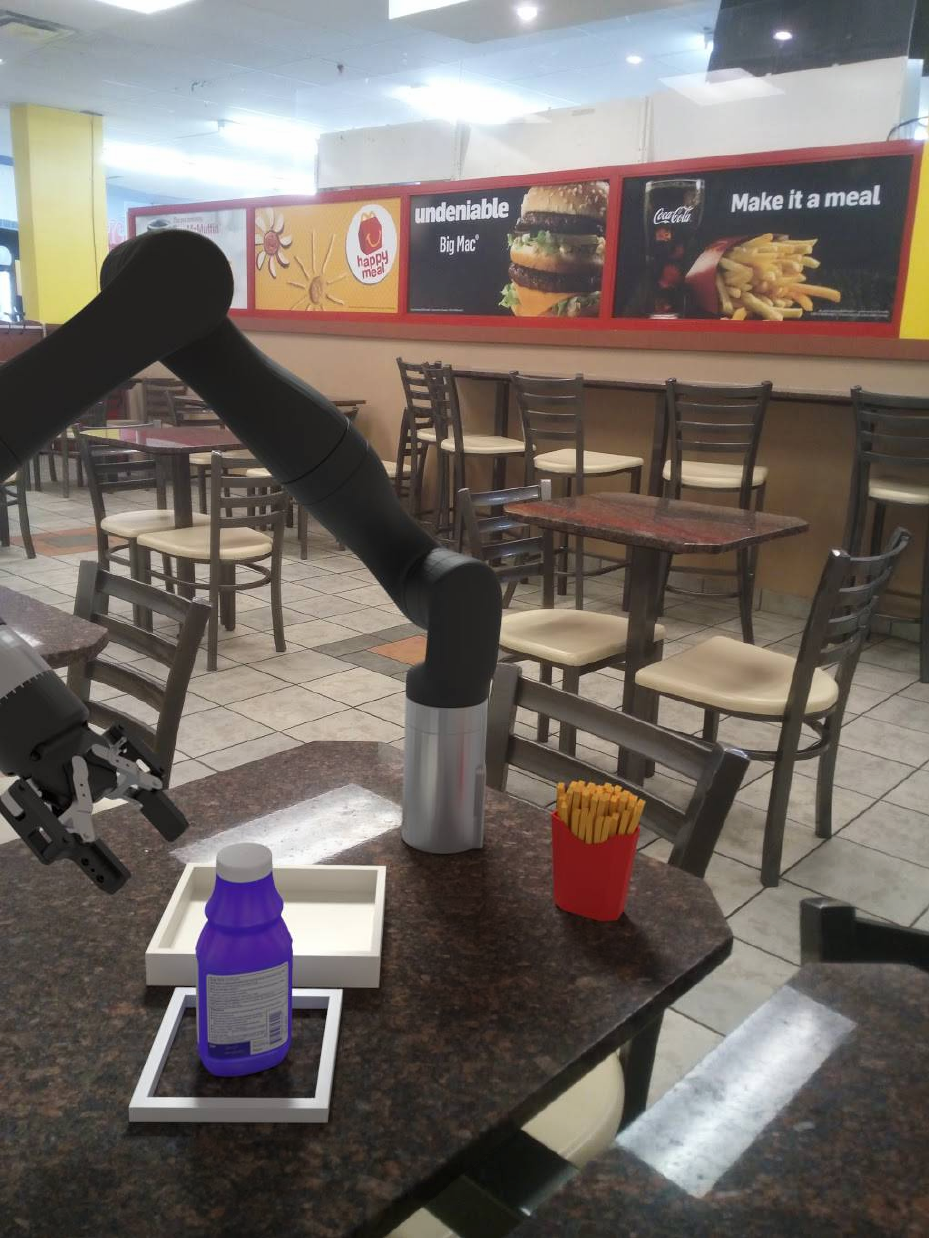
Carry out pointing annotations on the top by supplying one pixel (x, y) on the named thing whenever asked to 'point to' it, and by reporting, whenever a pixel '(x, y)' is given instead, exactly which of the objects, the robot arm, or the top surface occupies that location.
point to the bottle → (244, 967)
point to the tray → (287, 924)
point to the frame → (237, 1108)
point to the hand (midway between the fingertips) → (153, 859)
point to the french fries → (594, 848)
